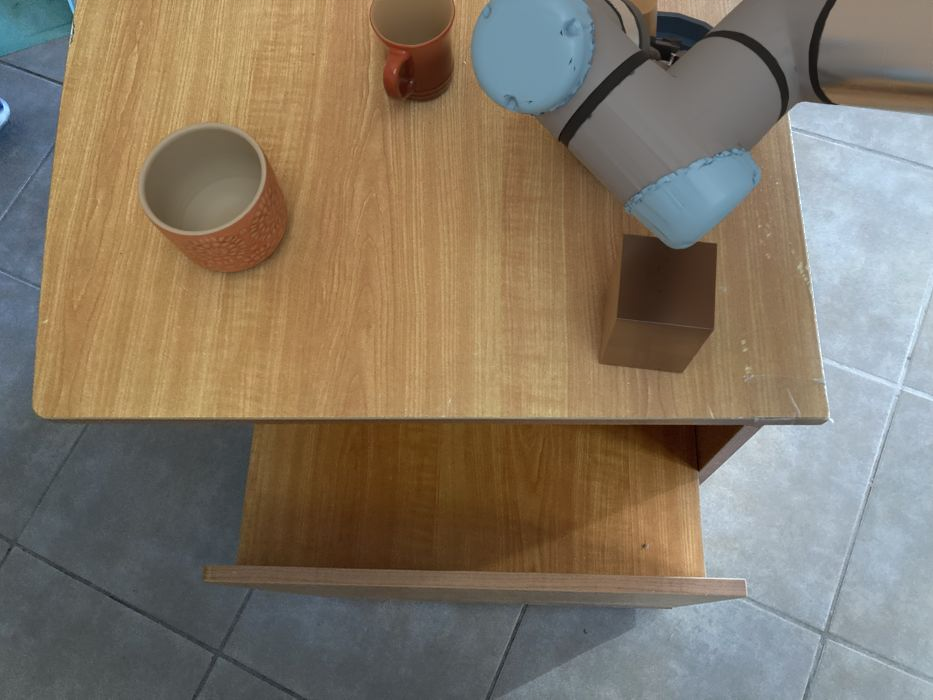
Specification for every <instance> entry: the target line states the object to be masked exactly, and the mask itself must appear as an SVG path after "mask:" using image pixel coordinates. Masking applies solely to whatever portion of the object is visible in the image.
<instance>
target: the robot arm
mask: <svg viewBox="0 0 933 700" xmlns="http://www.w3.org/2000/svg"><path fill="white" fill-rule="evenodd" d="M713 27H714V28H713V29H711V30H710V31H709V32H708V33H707V34H706V35H705V36H704V37H703V38H702V39H701V40H700V41H699V42H697V43H696V44H695V45H694V46H693V47H692V48H691V49H690V50H688V51H686V50H683V51H681V50H679V48H680V45H681V43H682V40H680V39H678V38H663V39H662V41H659V40H656V37H655V36H653V35H651V34H649V29H648V25H647V22H646V20H645V18H644V16H643V14H642V13H641V11H640V10H639V9H638V8H637V7H636V6H635V5H634V4H633V3H632V2H631V1H629V0H489V1H488V2H487V3H486V4H485V5H484V6H483V7H482V10H481V12H480V13H479V15H478V17H477V20H476V21H475V23H474V27H473V31H472V34H471V40H470V59H471V67H472V70H473V74H474V76H475V78H476V81H477V84H478V85H479V86H480V88H481V90H482V91H483V92H484V94H485V95H486V96H487V98H489V100H491V101H492V102H493V103H494V104H496V105H498V106H499V107H500V108H503V109H505V110H508V111H510V112H514V113H517V114H520V115H529V116H530V117H534V118H535V120H537V121H538V123H540V125H542V127H543V128H545V130H547V132H548V133H549V134H550V135H551V136H552V137H553V138H554V139H555V140H557V141H558V142H560V143H561V144H562V145H563V146H564V147H565V148H566V150H567V149H568V151H569V152H570V153H571V154H572V155H573V156H574V157H575V158H576V159H577V160H578V161H579V162H580V163H581V164H582V166H584V167H585V168H586V169H587V170H588V171H589V173H591V174H592V175H593V177H594V178H595V179H596V180H597V181H598V182H599V183H600V184H601V185H602V186H603V187H604V188H605V189H606V190H607V191H608V192H609V193H610V194H611V195H612V196H613V197H614V198H615V199H616V200H617V202H618V203H620V204H621V205H622V207H623V210H624V212H626V214H628V215H629V216H633V217H634V218H635V219H636V220H637V221H638V222H639V223H641V225H643V226H644V227H645V228H646V229H647V230H649V231H650V232H651V233H652V234H653V235H654V237H658V238H659V239H660V240H661V241H662V242H663V243H664V244H666V245H667V246H669V247H671V248H674V249H684V248H687V247H689V246H692V245H693V244H695V243H696V242H697V241H699V242H700V240H701V239H702V238H704V237H705V236H706V235H707V234H709V233H710V232H711V231H712V230H713V229H714V228H715V227H717V225H719V224H720V223H721V222H722V221H723V220H724V219H726V218H727V216H729V215H730V214H731V213H732V212H733V211H734V210H735V209H736V208H737V207H738V206H739V205H740V204H741V203H742V202H743V201H744V200H745V199H747V197H748V196H749V195H750V194H751V193H752V191H753V190H754V189H756V187H757V186H758V185H759V184H760V182H761V180H762V176H763V174H762V173H763V172H762V169H761V167H760V166H759V164H757V162H756V161H755V160H754V158H753V157H752V153H751V151H752V149H754V148H755V147H756V145H757V144H759V142H760V141H762V139H763V138H764V137H765V136H766V135H767V134H768V133H769V132H770V131H771V130H772V128H774V127H775V125H776V124H777V123H778V122H779V121H780V120H781V119H782V118H783V117H784V116H785V115H786V114H788V113H789V112H790V111H791V110H792V109H793V108H794V107H795V106H796V105H797V104H800V103H813V104H818V105H826V106H827V105H830V106H843V107H852V108H858V109H859V108H860V109H868V110H874V111H875V110H876V111H883V112H893V113H900V114H901V113H902V114H910V115H917V116H926V117H933V0H741V1H740V2H739V3H738V4H737V5H736V6H735V7H733V9H732V10H730V12H728V14H726V15H725V16H724V17H723V18H722V19H720V21H719V22H718V23H716V25H715V26H713Z"/></svg>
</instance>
